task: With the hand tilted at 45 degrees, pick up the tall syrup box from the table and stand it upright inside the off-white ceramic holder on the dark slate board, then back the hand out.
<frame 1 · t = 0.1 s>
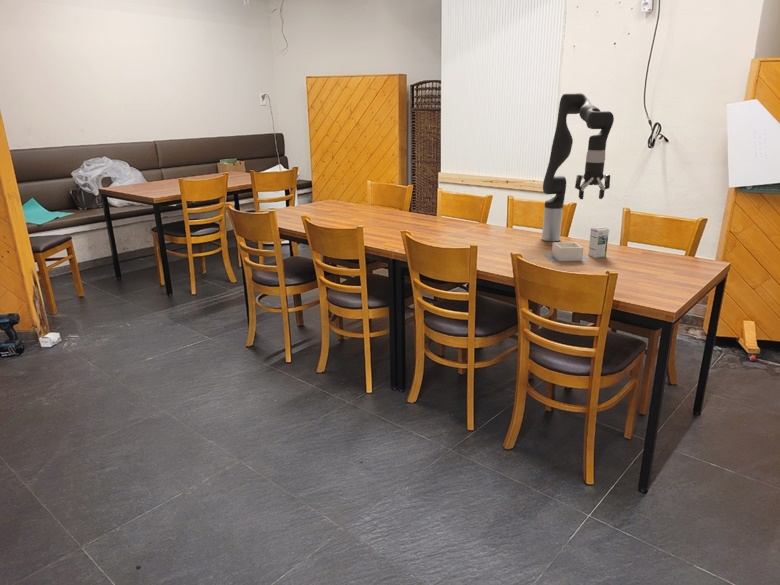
hand: (590, 198, 238), 29 cm above the table, tool pointing down, fingers open, 8 cm apart
slate board: (566, 260, 252), on the table
ceramic holder: (566, 257, 252), resting on slate board
syrup box: (596, 259, 255), on the table
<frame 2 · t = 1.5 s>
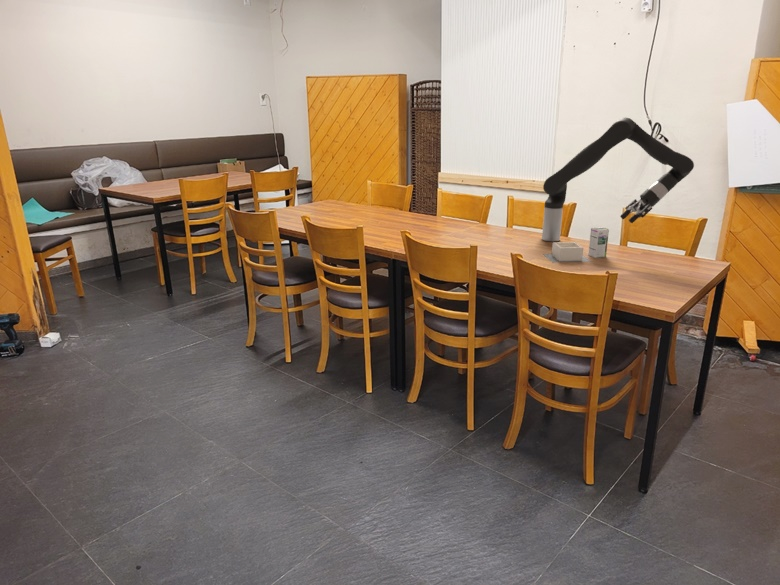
hand: (625, 219, 249), 18 cm above the table, tool tilted 45°, fingers open, 8 cm apart
nothing on the table moved.
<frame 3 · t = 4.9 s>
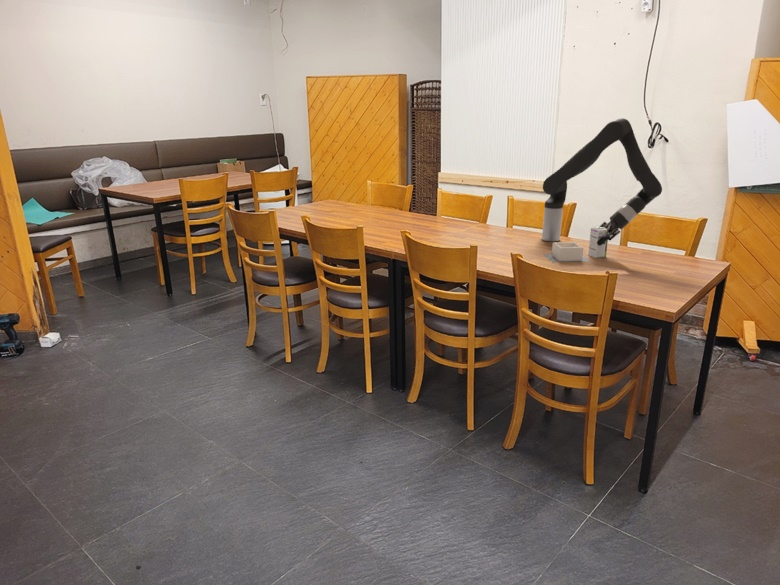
hand: (595, 242, 252), 8 cm above the table, tool tilted 45°, fingers closed on syrup box, 6 cm apart
syrup box: (596, 259, 255), on the table, touching gripper
when the fingers open (12 cm above the table, at t = 11.4 s): syrup box drops 1 cm, resting on ceramic holder.
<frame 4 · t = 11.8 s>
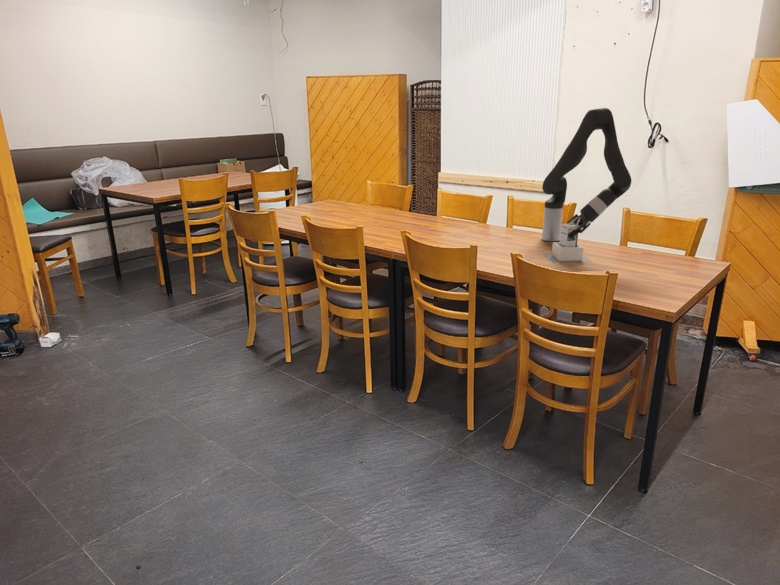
hand: (565, 235, 248), 12 cm above the table, tool tilted 45°, fingers open, 8 cm apart
syrup box: (567, 255, 252), point 2 cm above the table, touching ceramic holder
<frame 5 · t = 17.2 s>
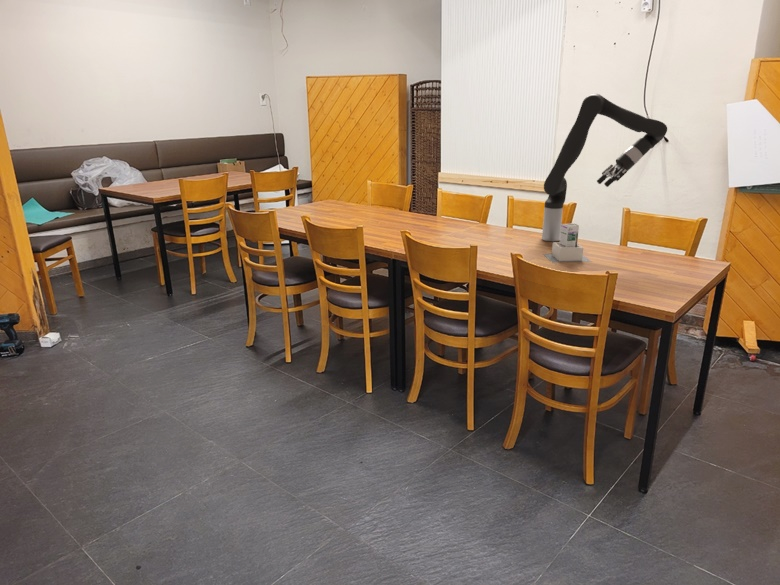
hand: (601, 184, 255), 33 cm above the table, tool tilted 45°, fingers open, 8 cm apart
nothing on the table moved.
at the end: syrup box 0.3 cm off-centre on the ceramic holder, point 0.8 cm above the ceramic holder's base; syrup box tilted 0°; the gripper is holding nothing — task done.
